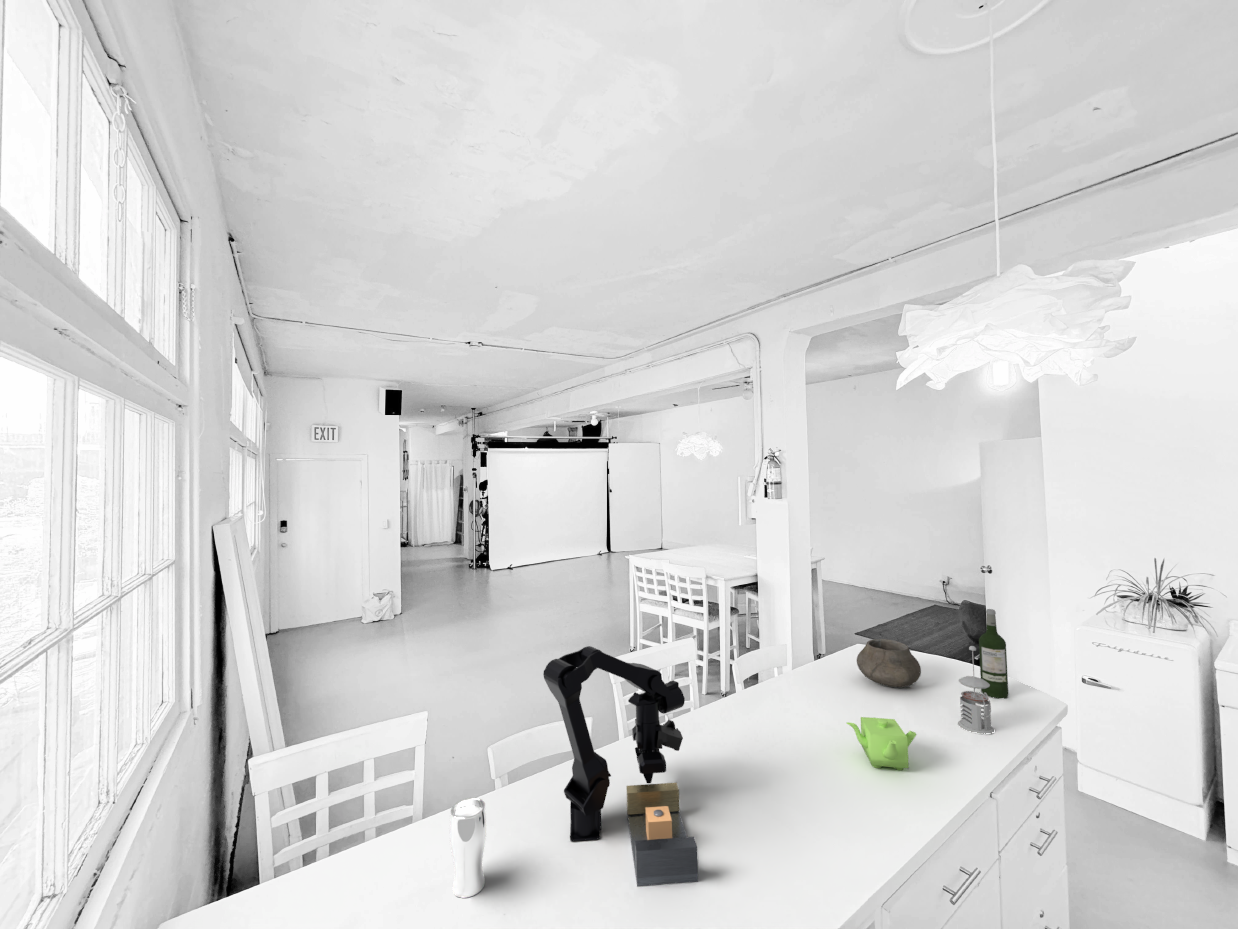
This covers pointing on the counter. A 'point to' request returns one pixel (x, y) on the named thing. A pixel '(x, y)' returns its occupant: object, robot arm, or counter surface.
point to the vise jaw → (652, 797)
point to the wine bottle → (993, 659)
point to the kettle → (884, 742)
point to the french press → (969, 707)
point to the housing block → (658, 823)
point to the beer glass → (468, 846)
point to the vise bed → (642, 835)
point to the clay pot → (888, 663)
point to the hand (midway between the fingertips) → (648, 782)
